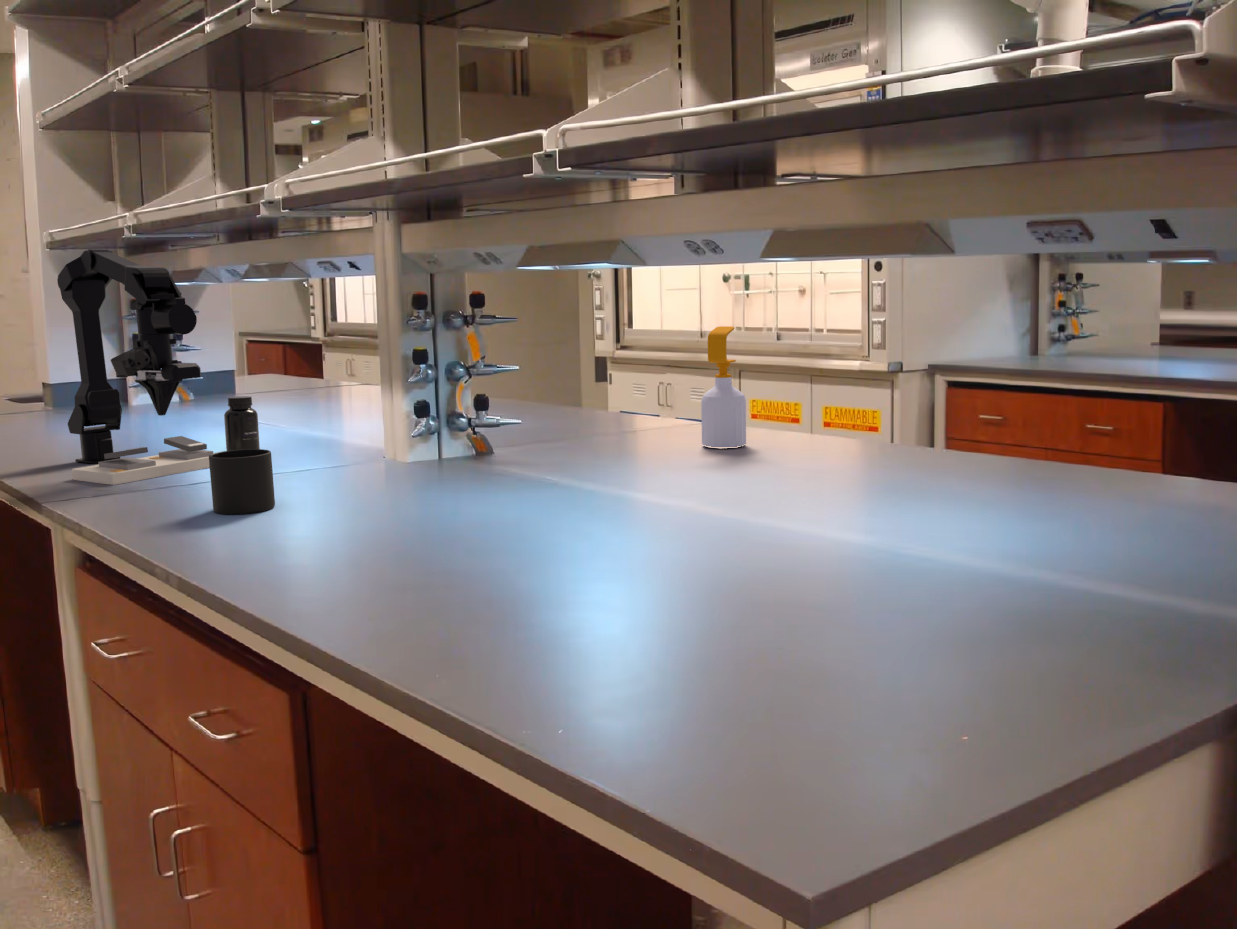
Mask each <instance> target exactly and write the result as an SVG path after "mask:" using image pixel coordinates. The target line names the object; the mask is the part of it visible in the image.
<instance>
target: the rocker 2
mask: <svg viewBox="0 0 1237 929" xmlns="http://www.w3.org/2000/svg"><path fill="white" fill-rule="evenodd" d="M163 444H165V445H168V446H170V447H173V448H176V449H182V450H185V451H188V452H193V451H199V450H207V448H208V447H207V446H208V444H207V443H204V442H201V441H199V440H194V439H192V438H190V437H189V438H188V437H186V436H183V435H179V436H173V437H166V438H165V437H164V438H163Z"/></svg>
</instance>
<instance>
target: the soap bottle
mask: <svg viewBox="0 0 1237 929" xmlns="http://www.w3.org/2000/svg"><path fill="white" fill-rule="evenodd" d="M734 330H735V327H734V326H724V325H723V326H716V327H715V328H714V329H712V330H711V331H709V333H708V335H707V360H708V363H710V364H711V363H712V364H715V363H716V365H715V366H716V368H718V369H719V370H718V373H717V374H715V375H714V377H715V378H714V386H713V387H712V388H710V389H709V390H707V391H706V392H705V393H703V395H702V397H701V402H700V403H701V404H700V407H701V411H700V412H701V445H702V444H703V445H706V446H711V447H737V446H742V445H744V444H746V445H747V399H746V396H745V394H744V393H743V392H742V391H741V390H739V389H738V388H736V387H735V386H733V385H732V382H733V381H732V374H730V373H728V368H730V367H731V364H732V363H736V361H737V359H728V358H727V339H728V336H729V335H730V333H732V332H734Z"/></svg>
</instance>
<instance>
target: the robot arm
mask: <svg viewBox="0 0 1237 929" xmlns="http://www.w3.org/2000/svg"><path fill="white" fill-rule="evenodd" d="M112 280H114V281H116V282H118V283H121V284H122V285H124V287H123V288H124V291H125V292H126V293H128V294H129V295H130V296H131V297H133V298H134V299H135V301H134V302H133V303H132V304H131V305H130V310H132V311H135V315H136V323H137V324H136V325H137V326H136V327H137V336H138V339H134V340H133V342H132V349H129V350H127V351H125V352H122V353H120V354H118V355H117V356H115V357H113V358H111V359H110V362H111V365H112V367H113V369H114V372H115V375H116V376H115V377H116V378H117V379H119V378H121V379H122V378H123V379H124V378H125V379H126V378H128V377H135V376H137V379H134V382H135V383H137V384H139V385H140V386H142V387H143V388H144V389H146V392H147V394H148V395H149V398H150V400H151V402H152V404H153V406H154V409H155V411H156V413H157V416H165V415H166V414H167V412H168V409H169V407H170V404H171V402H172V399H173V397H174V395H175V393H176V390H177V389H178V387H179V384H180V383H181V382H183V380H189V379H199V378H202V374H201V373H202V372H201V371H202V370H201V366H200V365H198V363H196V362H179V361H178V359H174V358H173V349H172V347H173V346H172V345H177V340H176V338H172V337H171V335H188V334H190V333H191V332H193V331H194V330H195V328H196V327H197V326H196V325H197V322H198V321H197V318H198V317H197V314H196V313H195V310H194V309H193V308H192V307H191V306H190V305H188V304H186V299H185V297H182V292H181V291H180V289H179V288H178V287H177V283H176V282H175V281H174V279H173V276H172V275H171V274H170V271H169V270H168V269H167V268H166V267H163V266H153V265H141V264H137V263H136V262H134V261H131V260H129V259H127V258H125V257H123V256H121V255H118V254H116V253H114V252H113V251H112V250H109V249H105V248H103V249H102V248H101V249H100V248H99V249H97V248H95V249H91V248H89V249H87V250H83V252H82V254H81V255H80V256H79V257H77V258H75V259H73V260H71V261H70V262H68V263H66V264H65V265H64V266H63V268H62V270H60V272H59V273H58V275H57V286H58V288H59V291H60V294H61V300H62V301H63V303H65V305H66V306H67V307H68V309H69V310H70V311H71V312H72V318H73V320H72V321H73V325H74V335H75V342H76V343H75V344H76V350H77V357H78V358H77V359H78V367H79V368H78V369H79V374H80V385H79V387H78V388H77V391H76V393H75V395H74V408H73V409H72V410H73V411H72V412H71V414H70V416H69V419H68V422H67V427H68V431H69V433H70V434H74V435H79V441H80V448H81V449H80V450H81V458H75V459H74V460H75V462H78V463H85V464H86V463H87V464H97V463H98V462H102V461H108V460H115V459H121V457H115V458H109V459H105V458H104V454H107V453H113V452H114V444H113V443H114V442H113V438H112V431H120V430H121V423H122V422H121V421H122V413H123V408H122V406H121V399H120V392H119V390H118V389H117V388H114V387H112V385H111V384H110V383H109V381H108V376H107V368H106V359H105V351H104V343H103V342H104V341H103V334H102V327H101V320H100V318H101V317H100V309H101V307H102V305H103V304H104V301H105V300H106V287H108V285H109V284H110V282H111V281H112Z"/></svg>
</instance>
